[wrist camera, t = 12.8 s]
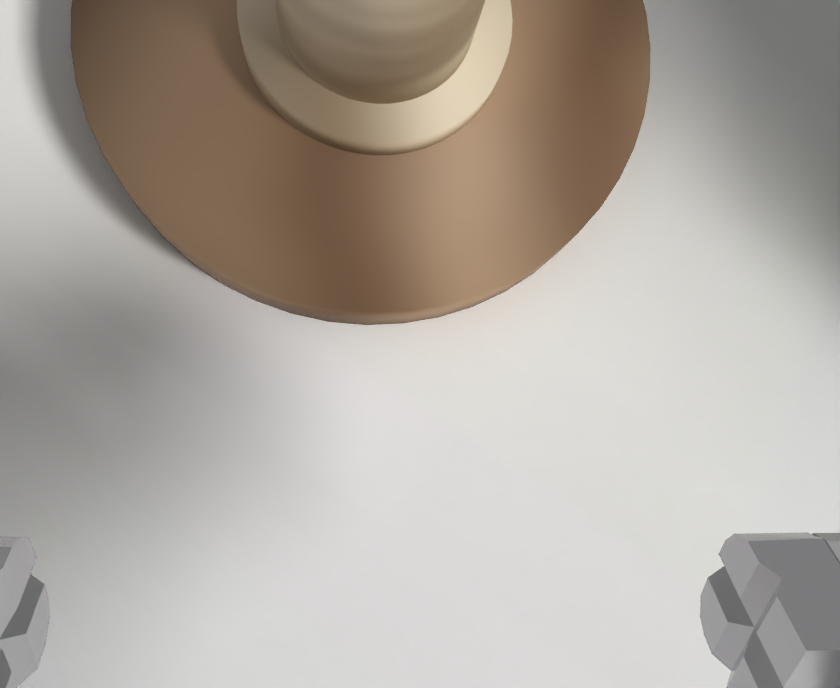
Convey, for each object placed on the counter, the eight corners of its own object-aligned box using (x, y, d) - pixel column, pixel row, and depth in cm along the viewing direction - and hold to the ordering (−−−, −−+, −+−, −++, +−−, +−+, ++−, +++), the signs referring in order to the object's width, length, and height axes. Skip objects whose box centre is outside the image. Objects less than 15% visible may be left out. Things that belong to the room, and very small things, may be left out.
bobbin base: (618, -151, 22) (638, -196, 21) (639, 331, 20) (663, 320, 19) (109, -200, 21) (92, -251, 19) (69, 317, 19) (46, 303, 17)
